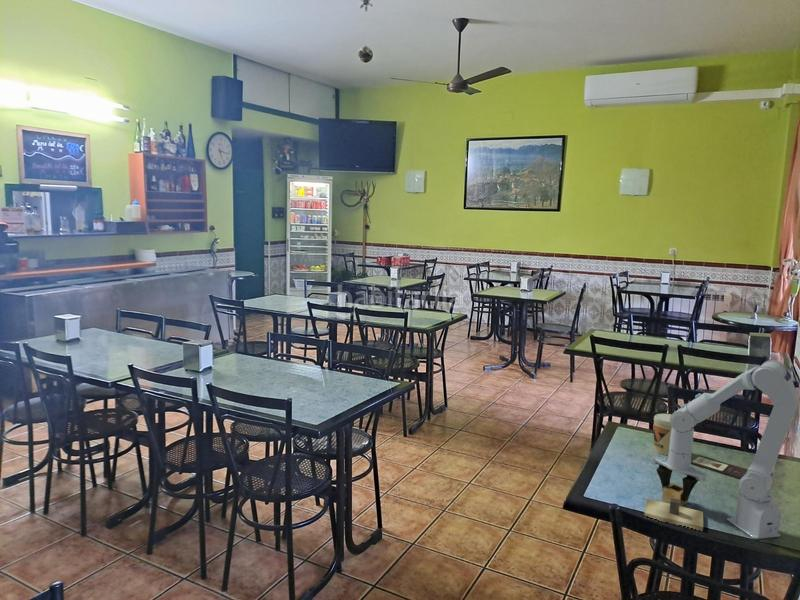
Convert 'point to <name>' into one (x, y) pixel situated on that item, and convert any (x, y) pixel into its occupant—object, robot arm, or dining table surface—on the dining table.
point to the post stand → (674, 514)
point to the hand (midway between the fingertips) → (675, 496)
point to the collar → (673, 493)
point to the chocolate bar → (719, 467)
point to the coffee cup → (662, 433)
